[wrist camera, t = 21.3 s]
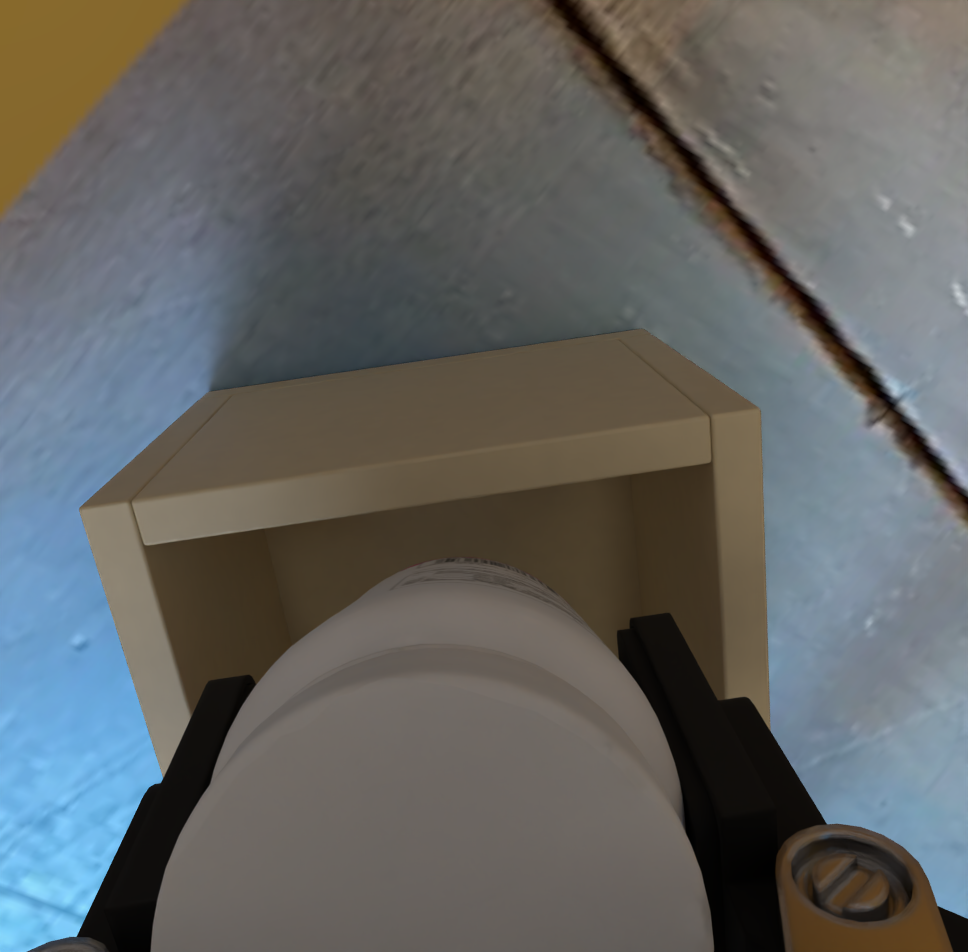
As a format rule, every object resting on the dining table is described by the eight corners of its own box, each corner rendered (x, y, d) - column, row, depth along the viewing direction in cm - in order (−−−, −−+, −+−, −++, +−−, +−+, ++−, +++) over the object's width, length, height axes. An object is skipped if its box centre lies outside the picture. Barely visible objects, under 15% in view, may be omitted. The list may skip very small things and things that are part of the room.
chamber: (206, 391, 20) (76, 508, 13) (644, 327, 20) (762, 407, 13) (312, 815, 24) (259, 1087, 17) (676, 761, 25) (779, 1008, 17)
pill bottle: (425, 899, 14) (329, 1468, 6) (265, 660, 14) (-52, 873, 6) (661, 735, 14) (910, 1060, 6) (500, 500, 14) (515, 484, 6)
